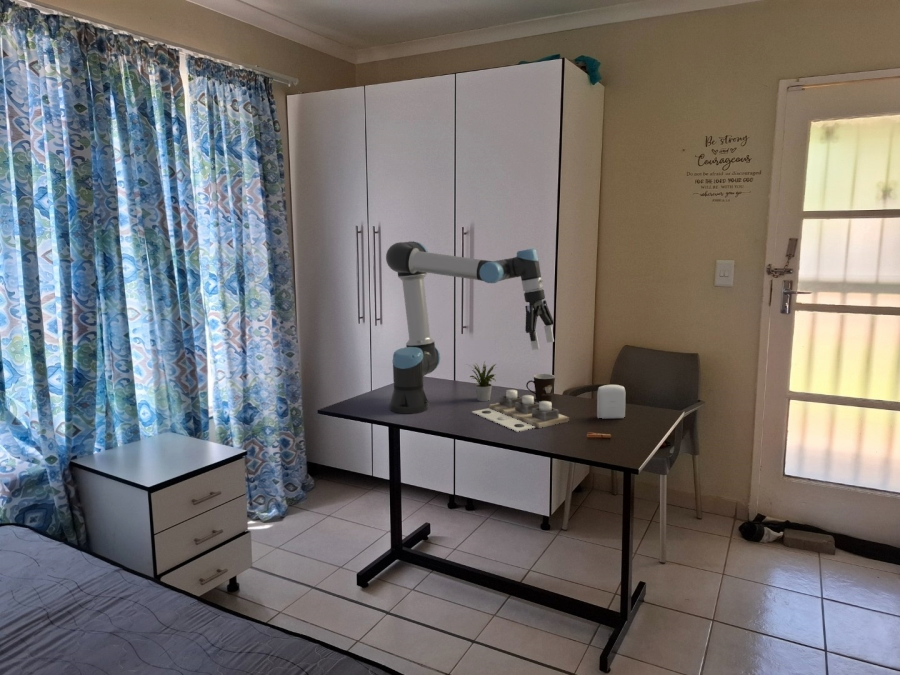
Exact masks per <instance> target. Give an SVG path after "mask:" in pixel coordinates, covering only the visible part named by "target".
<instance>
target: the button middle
mask: <svg viewBox="0 0 900 675" xmlns="http://www.w3.org/2000/svg"><path fill="white" fill-rule="evenodd" d="M521 397H522V404H523V405H526V406H529V405H533V404H534V402H535V396H534V395H531V394H530V395H529V394H525V395H522V396H521Z"/></svg>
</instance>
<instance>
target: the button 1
mask: <svg viewBox="0 0 900 675" xmlns="http://www.w3.org/2000/svg"><path fill="white" fill-rule="evenodd" d="M505 396H506V398H507V399H510V400H512V399H517V396H518V390H517V389H506V390H505Z"/></svg>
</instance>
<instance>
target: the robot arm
mask: <svg viewBox="0 0 900 675" xmlns="http://www.w3.org/2000/svg"><path fill="white" fill-rule="evenodd" d="M385 254H386V255H385V260H386V264H387V266H388V267H389V269H390V270H392V271H394V272H396V273H397V277H398V278H399V279H400V280H401V281H402V288H403V298H404V304H405V305H404V306H405V314H406V315H405V316H406V322H407V330H408V333H407V334H408V340H407V342H406V344H405V347H403V348H399V349H397V350H395V351H394V352H393V354H392V372H393V373H392V376H393V378H392V379H393V392H392V395H391V397H390V402H389V410H390V411H391V410H392V411H391V412H393V411H394V413H397V414H416V413H417V412H418V413H421V412H425V411H427V410H428V409H429V401H428V398H427V395H426V393H425V392H426V391H425V390H424V389H425V388H424V376H426V375H428V374H431V373H432V372H434V371H435V370H436V369H437V367H438V366H439V365H440V362H441V355H440V354H441V353H440V351H439V349H438V348H437V347H436V344H435V340H434V339H433V338H432V337H431V332H430V324H429V315H428V314H429V313H428V307H427V298H426V297H427V296H426V289H425V282H424V281H425V277H426V276H427V275H428V274H433V275H440V276H446V277H448V276H449V277H455V278H462V279H469V280H475V281H481V282H484V283H486V284H496V283H498V282H501V281H504V280H508V279H513V278H515V279H516V278H521V285H522V291H523V292H524V293H523V296H524V301H525V303H528V304H529V305H525V329H524V330H525V333H526V334H529V339H530V345H531V350H532V351H533V350H535V351H536V350H540V342H539V339H538V338H539V337H538V333H537V331H536V329H537V328H536V327H537V322H538V317H540V319H541V321H542V322H543V324H544V326H543V328H544V334H545V338H546V343H554V342H555V339H554V333H553V328H552V325H554V323H555V322H554V319H553V316H552V314H551V311H550V309H549V307H548V303H547V300H546V294H545V290H544V289H543V288H544V285H543V282H544V281H543V279H542V273H541V267H540V262H539V261H540V260H539V256H538V252H537V250H536V248H528V249H524V250H518V251H517V252H516V256H514V257H511V258H509V257H508V258H504V259H499V260H493V261H491V260H485V259H477V258H471V257H464V256H463V257H462V256H456V255H449V254H441V253H434V252H428V249H427V248H426V247H425V245H424V244H422V243H421V242H417V241H411V240H410V241H404V242H402V241H400V242H395V243H393V244H392V245H390V247H389V248H388V249H387V250H386V253H385ZM418 413H417V414H418Z"/></svg>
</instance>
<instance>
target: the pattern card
mask: <svg viewBox="0 0 900 675" xmlns="http://www.w3.org/2000/svg"><path fill="white" fill-rule="evenodd" d="M471 414H474V415H476V414H477V415H476V416H478V415H479V416H478V417H480V418H483V419H485V418H486V419H485V420H487V421H490V422H492V421H493V422H492V423H495V424H497V423H498V425H499V424H500V425H499V426H502V427H504V426H505V427H504V428H506V427H507V429H509V430H511V429H512V430H511V431H513V430H514V432H516V433H519V431H520V432H524V431H529V430H532V428H533V429H535V428H536V427H535V426H532V425H530V424H527V423H525V422H522V421H520V420H517V419H515V418H512V417H510V416H507V415H505V414H502V413H500V412H497V411H495V410H492V409H490V407H488V408H487V407H486V408H483V409H477V410H472V411H471ZM528 429H529V430H528Z"/></svg>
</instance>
